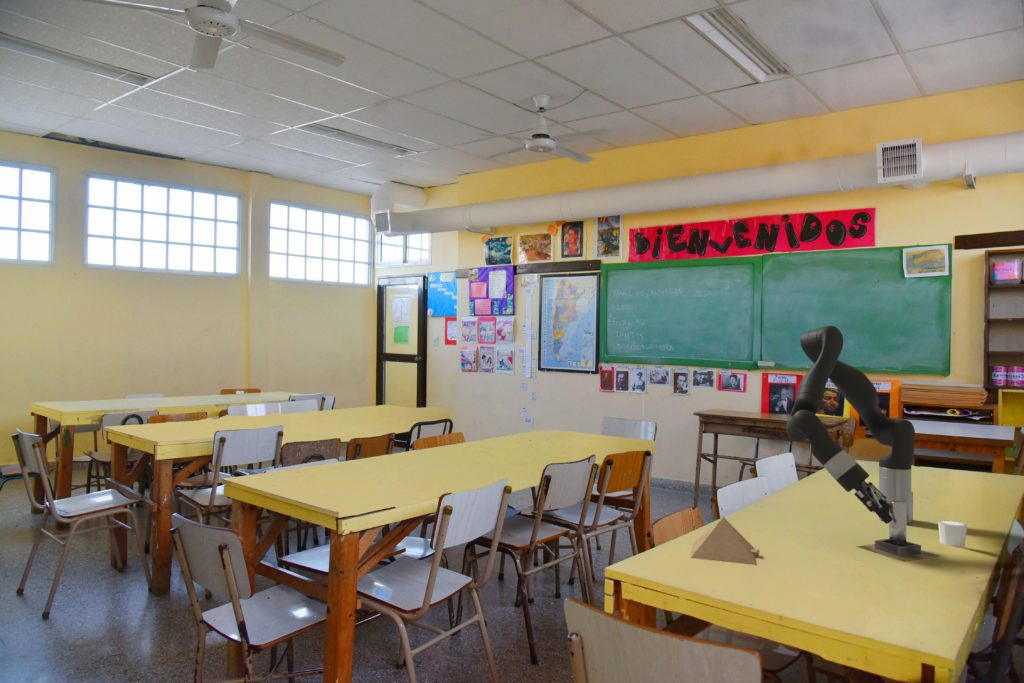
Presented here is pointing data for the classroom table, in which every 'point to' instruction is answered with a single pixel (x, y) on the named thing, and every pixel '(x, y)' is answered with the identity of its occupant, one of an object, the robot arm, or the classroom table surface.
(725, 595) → the classroom table surface
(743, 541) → the model pyramid
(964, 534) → the white cup
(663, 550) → the classroom table surface
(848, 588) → the classroom table surface
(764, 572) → the classroom table surface
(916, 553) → the square socket base
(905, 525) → the peg
